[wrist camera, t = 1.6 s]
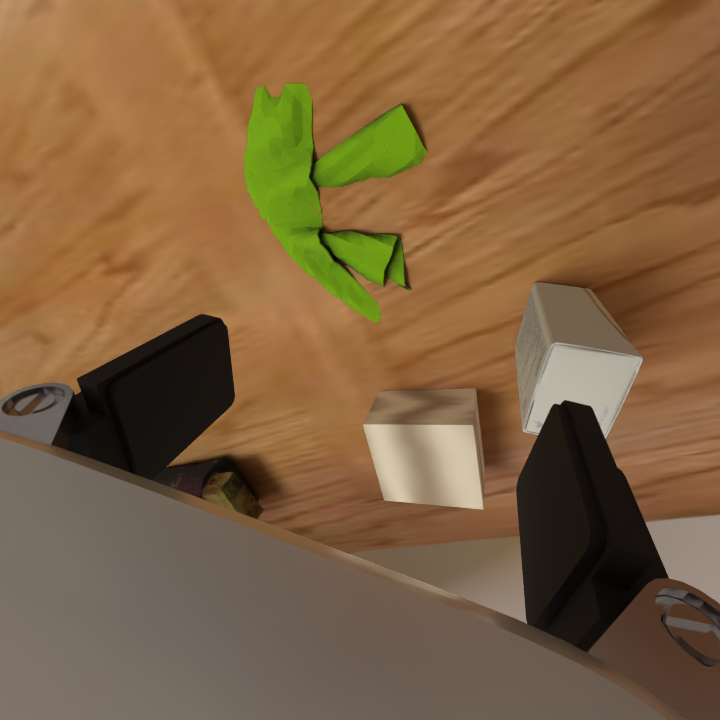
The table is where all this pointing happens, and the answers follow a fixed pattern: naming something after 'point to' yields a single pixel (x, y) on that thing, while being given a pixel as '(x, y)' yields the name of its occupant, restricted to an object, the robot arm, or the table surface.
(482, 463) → the maple block
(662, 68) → the table surface
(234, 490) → the packaged item
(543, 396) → the skincare box
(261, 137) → the cloth
